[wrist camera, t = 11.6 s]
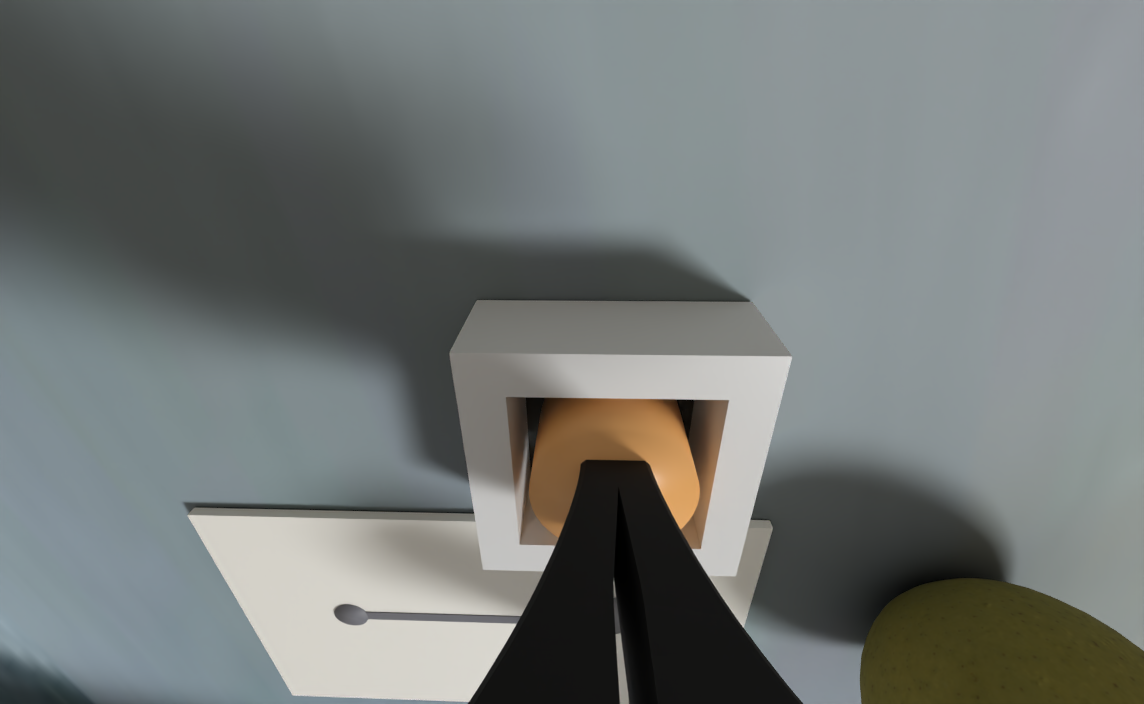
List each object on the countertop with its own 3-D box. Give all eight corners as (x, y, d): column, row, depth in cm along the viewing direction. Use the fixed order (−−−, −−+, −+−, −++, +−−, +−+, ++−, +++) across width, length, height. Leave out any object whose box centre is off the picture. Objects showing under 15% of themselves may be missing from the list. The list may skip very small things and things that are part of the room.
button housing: (713, 500, 14) (735, 576, 12) (499, 495, 14) (482, 569, 12) (752, 302, 11) (792, 356, 9) (476, 300, 11) (449, 352, 9)
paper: (717, 702, 20) (719, 712, 20) (296, 687, 21) (292, 696, 20) (769, 520, 14) (773, 529, 14) (194, 507, 15) (186, 516, 15)
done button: (673, 476, 13) (689, 554, 11) (542, 473, 13) (533, 550, 11) (688, 363, 11) (710, 431, 9) (536, 362, 11) (524, 428, 9)
